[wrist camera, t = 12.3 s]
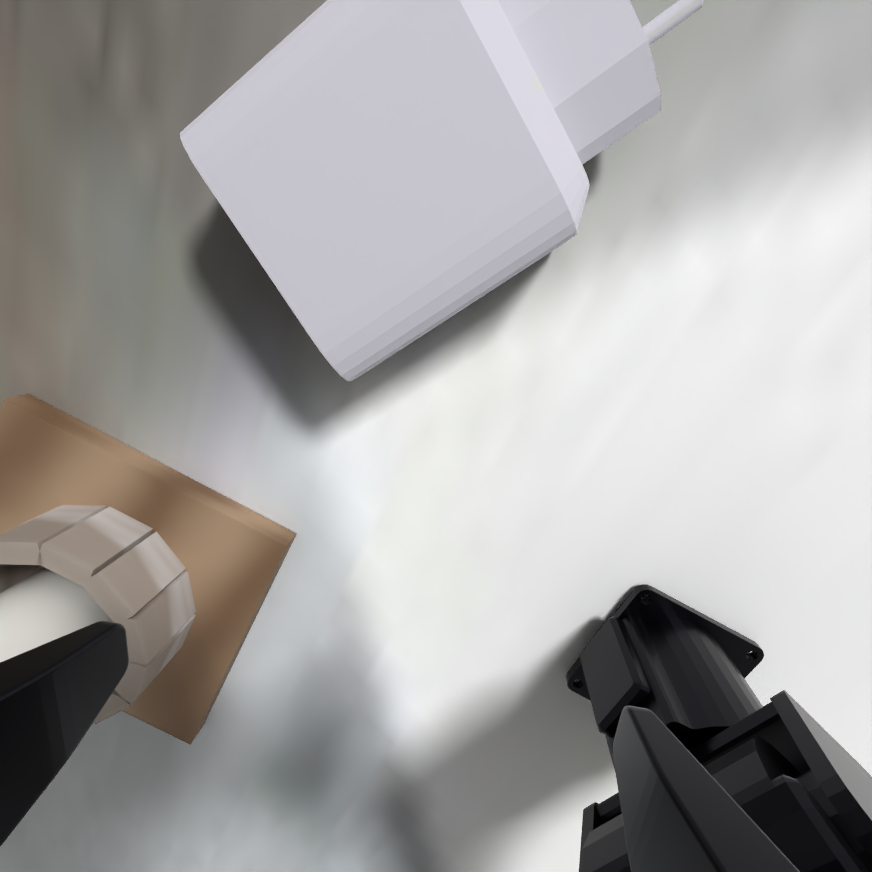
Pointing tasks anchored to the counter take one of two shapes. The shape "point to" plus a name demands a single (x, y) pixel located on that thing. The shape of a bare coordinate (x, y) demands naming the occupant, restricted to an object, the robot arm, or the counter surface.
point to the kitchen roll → (43, 612)
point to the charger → (421, 153)
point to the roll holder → (136, 556)
